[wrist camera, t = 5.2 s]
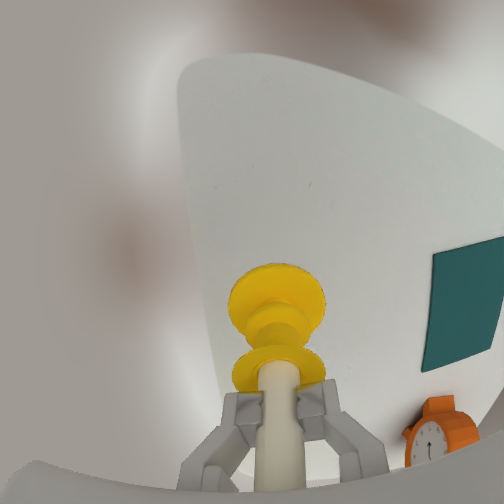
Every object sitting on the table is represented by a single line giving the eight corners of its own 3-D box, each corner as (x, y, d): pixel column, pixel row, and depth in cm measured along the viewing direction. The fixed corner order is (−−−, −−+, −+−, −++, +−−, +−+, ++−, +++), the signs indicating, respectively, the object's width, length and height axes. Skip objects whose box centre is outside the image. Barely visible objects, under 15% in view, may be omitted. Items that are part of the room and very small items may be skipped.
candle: (232, 256, 16) (161, 629, 2) (334, 268, 16) (417, 612, 2) (226, 335, 18) (182, 613, 4) (313, 343, 18) (338, 614, 4)
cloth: (433, 253, 29) (434, 255, 29) (511, 234, 27) (513, 235, 27) (421, 371, 36) (422, 373, 36) (489, 347, 35) (490, 348, 34)
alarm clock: (430, 391, 38) (471, 501, 20) (458, 388, 38) (502, 487, 20) (395, 438, 44) (418, 534, 26) (422, 435, 44) (449, 524, 26)
